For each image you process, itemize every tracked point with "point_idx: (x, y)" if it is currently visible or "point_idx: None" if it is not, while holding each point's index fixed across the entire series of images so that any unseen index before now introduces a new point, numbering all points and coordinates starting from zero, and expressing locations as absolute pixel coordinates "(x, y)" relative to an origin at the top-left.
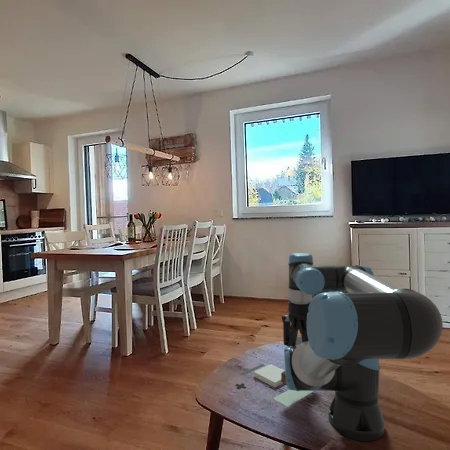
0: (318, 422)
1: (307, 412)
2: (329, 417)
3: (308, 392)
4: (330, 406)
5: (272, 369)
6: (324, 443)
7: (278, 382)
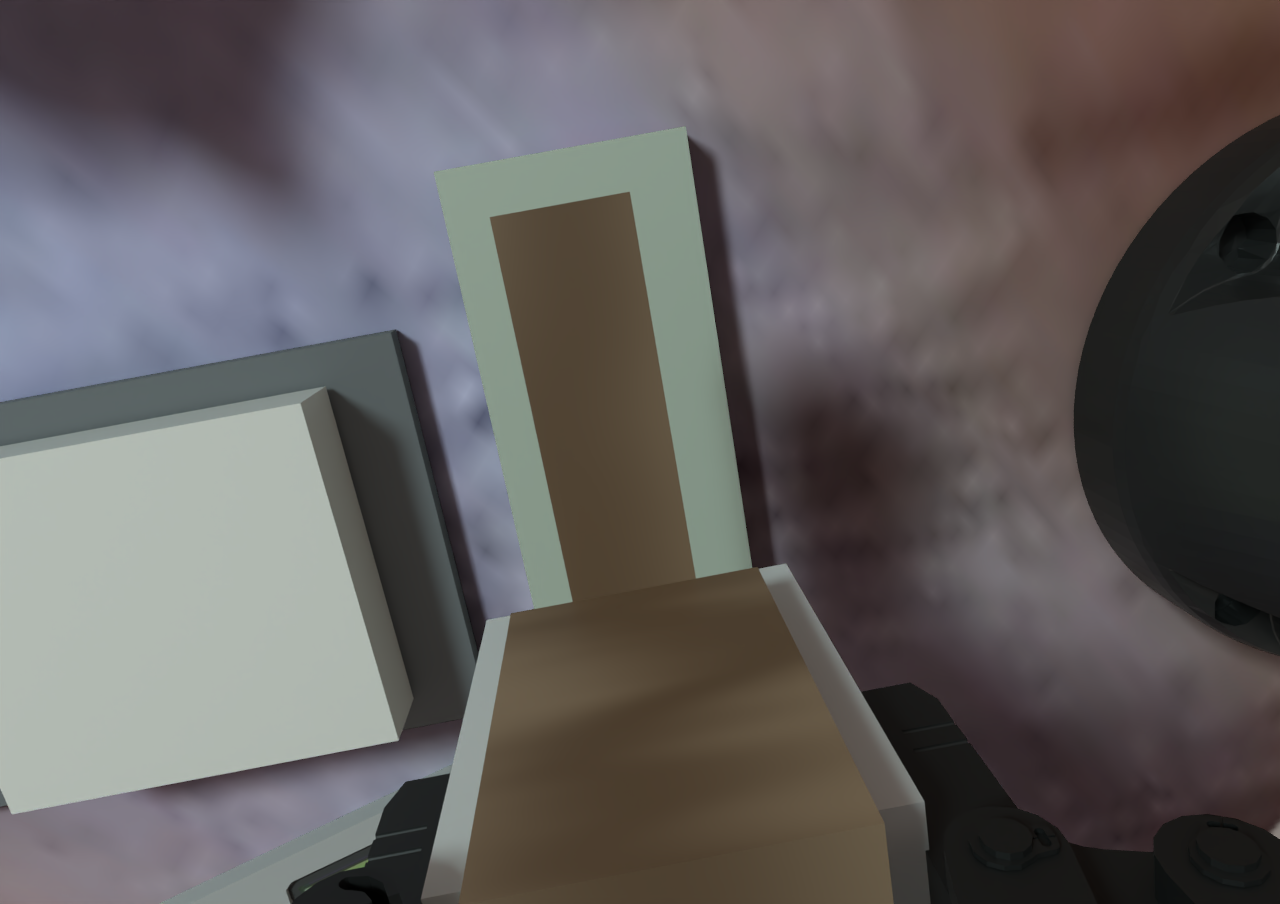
0: (1084, 663)
1: (919, 647)
2: (1209, 625)
3: (707, 436)
4: (1225, 595)
5: (51, 566)
6: (1275, 799)
7: (387, 670)
